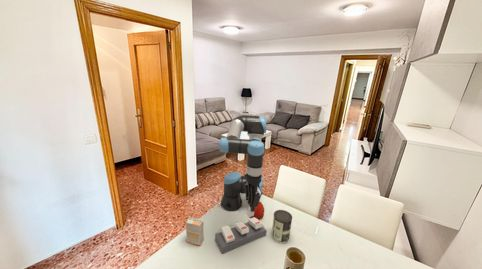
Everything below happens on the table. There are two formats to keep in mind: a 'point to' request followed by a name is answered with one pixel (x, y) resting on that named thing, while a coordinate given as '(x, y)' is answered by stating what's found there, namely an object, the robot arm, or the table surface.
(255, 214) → the apple
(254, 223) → the block
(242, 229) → the rocker
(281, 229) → the coffee can
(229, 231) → the rocker
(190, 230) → the supplement box
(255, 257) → the table surface
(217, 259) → the table surface
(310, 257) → the table surface
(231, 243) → the rocker switch panel
